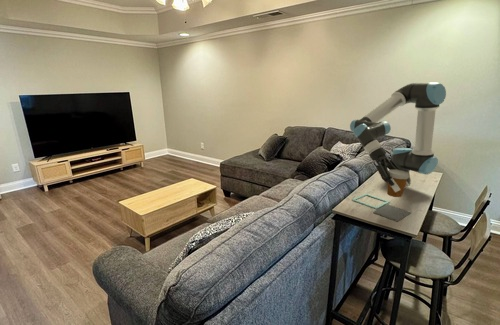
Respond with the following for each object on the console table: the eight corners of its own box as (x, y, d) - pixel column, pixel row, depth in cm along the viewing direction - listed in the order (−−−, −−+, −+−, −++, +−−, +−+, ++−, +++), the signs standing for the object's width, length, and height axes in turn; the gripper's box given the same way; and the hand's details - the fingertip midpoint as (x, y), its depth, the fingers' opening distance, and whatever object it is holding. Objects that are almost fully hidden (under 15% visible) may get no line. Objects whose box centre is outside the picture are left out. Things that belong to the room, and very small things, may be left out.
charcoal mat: (387, 205, 143) (387, 204, 143) (410, 213, 134) (411, 212, 134) (372, 212, 135) (373, 211, 134) (397, 221, 125) (397, 220, 125)
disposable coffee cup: (409, 197, 129) (414, 174, 125) (394, 199, 126) (398, 175, 123) (394, 190, 137) (398, 168, 134) (379, 192, 135) (383, 169, 131)
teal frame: (365, 194, 158) (365, 193, 158) (389, 202, 147) (390, 201, 147) (351, 200, 149) (352, 199, 149) (376, 209, 138) (376, 208, 138)
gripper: (379, 151, 145) (405, 187, 137) (358, 157, 132) (385, 197, 124) (391, 144, 139) (418, 180, 132) (369, 149, 127) (398, 190, 119)
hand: (402, 188), depth 128 cm, fingers closed on disposable coffee cup, 9 cm apart
